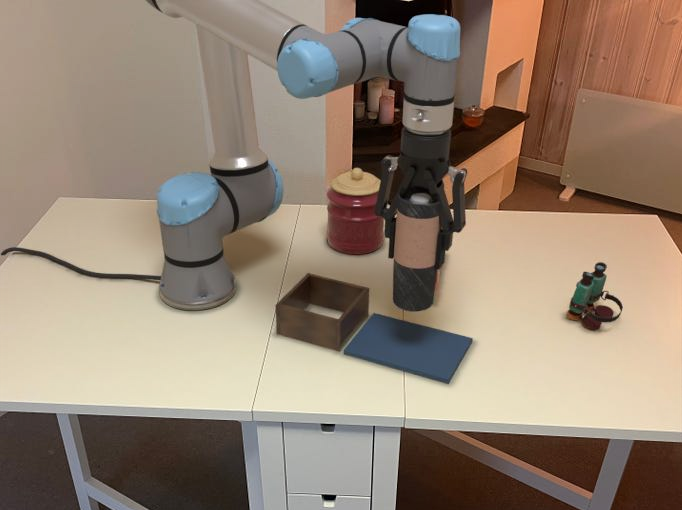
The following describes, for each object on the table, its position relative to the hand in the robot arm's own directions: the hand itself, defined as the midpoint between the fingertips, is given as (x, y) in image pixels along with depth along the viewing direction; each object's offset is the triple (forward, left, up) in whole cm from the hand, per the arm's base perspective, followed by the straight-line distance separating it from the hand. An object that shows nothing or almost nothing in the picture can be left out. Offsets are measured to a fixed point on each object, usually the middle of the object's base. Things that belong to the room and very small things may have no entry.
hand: (416, 260), depth 128 cm
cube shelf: (-18, 0, -18) cm, 25 cm away
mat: (0, 0, -18) cm, 18 cm away
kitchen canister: (-26, +34, -19) cm, 47 cm away
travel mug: (0, 0, -8) cm, 8 cm away
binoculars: (+29, +25, -19) cm, 43 cm away
